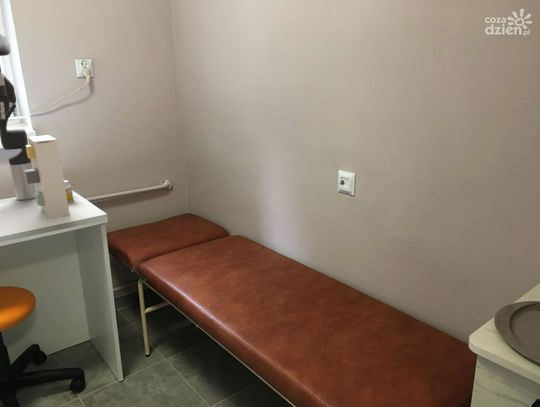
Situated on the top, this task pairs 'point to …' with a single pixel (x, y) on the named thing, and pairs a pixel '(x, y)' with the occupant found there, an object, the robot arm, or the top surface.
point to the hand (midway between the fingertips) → (3, 128)
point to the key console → (50, 176)
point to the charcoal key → (32, 176)
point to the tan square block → (30, 151)
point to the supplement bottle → (68, 191)
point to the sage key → (39, 198)
